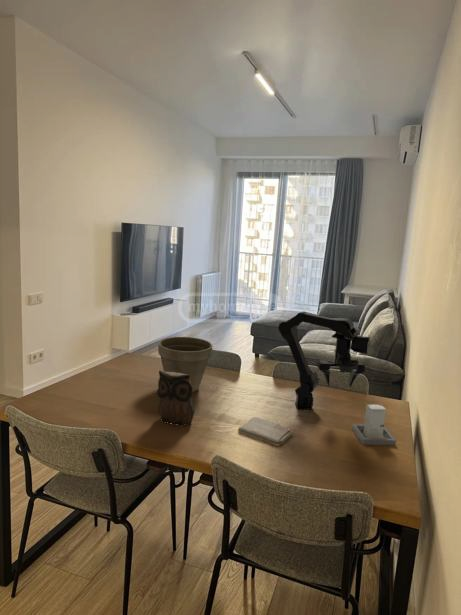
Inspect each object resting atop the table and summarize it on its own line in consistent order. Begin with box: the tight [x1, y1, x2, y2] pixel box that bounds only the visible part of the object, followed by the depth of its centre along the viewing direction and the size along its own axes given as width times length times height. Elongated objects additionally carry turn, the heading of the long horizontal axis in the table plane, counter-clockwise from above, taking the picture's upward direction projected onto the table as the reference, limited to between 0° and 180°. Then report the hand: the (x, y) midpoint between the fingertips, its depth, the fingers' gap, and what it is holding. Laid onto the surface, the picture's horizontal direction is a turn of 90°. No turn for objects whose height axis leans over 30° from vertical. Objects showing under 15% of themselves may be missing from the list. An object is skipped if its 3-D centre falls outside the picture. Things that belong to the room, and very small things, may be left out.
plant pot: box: [157, 336, 214, 393], centre depth 196 cm, size 25×25×22 cm
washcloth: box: [237, 416, 293, 446], centre depth 158 cm, size 12×18×3 cm, turn 58°
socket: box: [351, 423, 397, 446], centre depth 159 cm, size 12×12×2 cm
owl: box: [157, 370, 195, 426], centre depth 162 cm, size 13×13×20 cm
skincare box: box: [362, 404, 387, 439], centre depth 159 cm, size 6×4×12 cm
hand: (339, 386), depth 174 cm, fingers open, 9 cm apart
